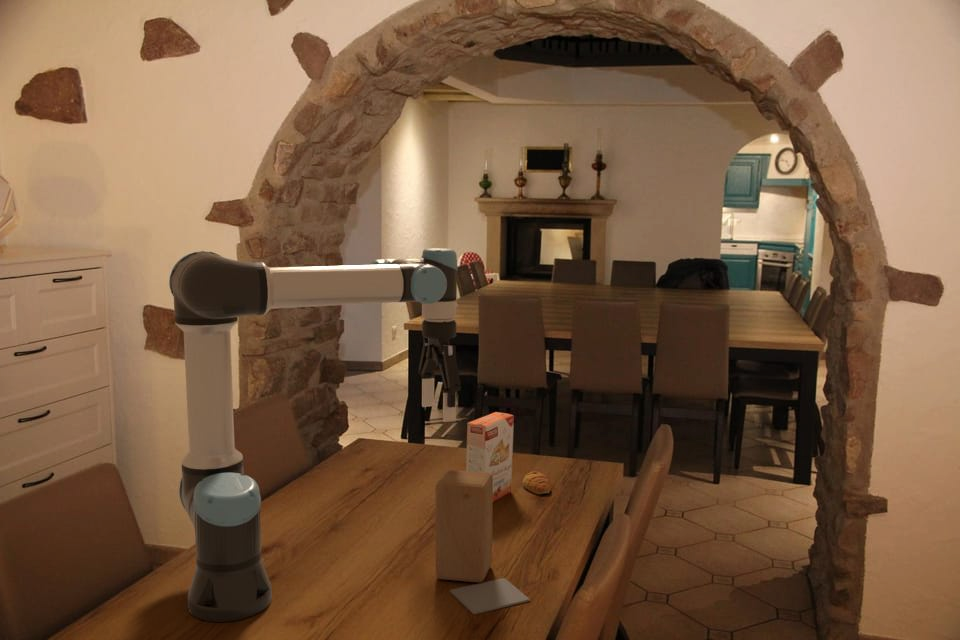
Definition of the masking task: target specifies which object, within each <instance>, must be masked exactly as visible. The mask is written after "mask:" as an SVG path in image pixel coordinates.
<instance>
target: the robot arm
mask: <svg viewBox="0 0 960 640" xmlns="http://www.w3.org/2000/svg"><path fill="white" fill-rule="evenodd" d="M458 270H459V269H458V257H457V252H456V251H455V250H454V249H452V248H445V247H443V248H442V247H441V248H439V247H438V248H437V247H436V248H435V247H433V248H432V247H431V248H424V249H423V250H422V254H421V257H419V258H387V257H386V258H382V259H375V260H374V259H373V260H372V261H371V263H370V264H362V265H361V264H360V265H359V264H358V265H328V266H327V265H321V266H319V265H317V266H316V265H314V266H280V267H278V266H274V267H269V266H268V265H267V264H266V263H264V262H263V261H257V262H256V261H253V262H251V261H250V262H249V261H241V260H236V259H230V258H228V257H224V256H222V255H220V254H218V253H216V252H212V251H205V250H204V251H203V250H201V251H195V252H190V253H188V254H186V255H185V256H182V257H181V258H180V259H179V260H178V261H177V262H176V263H175V264H174V266H173V267H172V269H171V272H170V275H169V285H168V286H169V290H170V293H171V295H172V296H173V310H174V311H173V312H174V313H173V314H174V315H173V316H174V325H175V326H177V327H178V329H180V330H181V331H182V332H183V343H184V344H183V346H184V349H183V350H184V368H185V388H186V389H185V393H186V411H187V412H186V414H187V431H188V433H187V434H188V452H187V453H186V454H185V455H184V456H183V458H182V459H181V461H180V462H181V478H180V482H179V488H178V492H179V493H178V494H179V499H180V502H181V505H182V507H183V509H184V510H185V511H186V513H187V516H188V517H189V520H190V522H191V523H192V526H193V529H194V535H195V536H194V538H195V539H194V540H195V558H196V559H195V562H196V566H195V570H194V574H193V576H192V580H191V583H190V587H189V589H188V590H189V591H188V593H187V609H188V608H189V610H190V612H191V613H192V614H193V615H194V616H196V617H198V618H197V619H199V618H200V619H199V620H202V619H203V621H206V622H223V623H224V622H233V621H238V620H243V619H246V618H249V617H253V616H255V615H257V614H259V613H261V612H263V611H264V610H265V609H266V608H267V607H269V606H270V604H271V602H272V600H273V599H272V596H273V592H272V591H273V590H272V584H271V581H270V579H269V577H268V574H267V573H268V572H267V571H266V568H265V566H264V563H263V561H262V536H261V535H262V534H261V533H262V531H261V505H262V498H261V494H260V488H259V485H258V483H257V482H256V480H255V479H253V478H252V477H250V476H249V475H246V474H245V475H244V456H243V454H242V452H241V451H239V450H237V448H236V447H235V446H236V445H235V426H234V425H235V424H234V397H233V393H234V392H233V369H232V368H233V366H232V341H231V339H232V338H231V330H232V329H233V327H234V326H235V325H236V324H237V323H238V322H239V317H240V318H241V317H249V316H262V315H263V316H264V315H266V314H268V312H269V311H271V309H273V310H275V309H291V308H310V307H327V306H347V305H348V306H349V305H364V304H365V305H366V304H367V305H368V304H369V305H370V304H386V303H387V304H388V303H415V302H416V303H417V302H418V303H420V304H421V317H422V319H423V320H422V322H421V334H422V338H423V342H422V349H421V355H420V360H419V365H418V374H420V376H421V377H420V378H421V407H422V408H426V407H435V378H436V373H435V370H436V368H437V366H438V367H439V370H440V375H441V376H440V377H441V379H442V383H443V387H444V388H443V389H442V391H441V392H442V395H443V397H442V405H443V406H442V422H444V423H448V422H449V423H450V422H456V421H457V392H459V391H460V392H461V390H462V386H461V379H460V374H459V373H460V372H459V366H458V360H457V349H456V348H457V347H456V345H453V344H452V345H450V339H453V338H455V337H457V321H456V318H457V308H458V307H459V304H458V303H457V300H458V299H457V297H458V296H457V293H458V292H457V287H458V286H457V285H458V284H457V283H458ZM189 610H188V611H189ZM190 612H189V613H190ZM191 613H190V614H191ZM192 614H191V615H192ZM193 615H192V616H193ZM194 616H193V617H194ZM196 617H195V618H196Z"/></svg>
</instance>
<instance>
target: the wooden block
mask: <svg viewBox="0 0 960 640" xmlns="http://www.w3.org/2000/svg"><path fill="white" fill-rule="evenodd" d="M493 503H494V502H493V477H492V475H491V474H490V473H486V472H471V471H466V470H455V469H449V470H447V471H445V473H444V474H443V475H442V476H441V477H440V479H439V480H438V481H437V482H436V484H435V541H434V542H435V546H434V547H435V549H434V550H435V557H434V558H435V564H434V565H435V569H434V571H435V576H436V578H437V579H439V580H450V581H459V582H471V583H483V582H484V580H485V578H486V576H487V574H488V572H489V570H490V568H491V566H492V563H493Z"/></svg>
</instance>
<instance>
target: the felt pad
mask: <svg viewBox="0 0 960 640" xmlns="http://www.w3.org/2000/svg"><path fill="white" fill-rule="evenodd" d="M449 592H450V593H451V594H452V595H453V596H454V597H455V598H456V599H457V600H458V602H459V603H461V604H462V605H463V606H464V607H465V608H466V609H467V610H469V612H470V613H471V614H472V615H477V614H481V613H482V614H483V613H487V612H489V611H494V610H500V609H502V608H506V607H511V606H515V605H518V604H520V605H521V604H523V603H528V602H530V601H531V599H530V598H529V597H528V596H527V595H525V594H524V593H523V592H522V591H521V590H520V589H518V587H516V586H515V585H514V584H512V583H511V582H510V581H509V580H508V579H506V578H505V577H503V578H497V579H492V580H488V581H483V582H478V583H476V584H475V583H474V584H470V585H466V586H461V587H457V588H454V589H453V588H452V589H450V591H449Z"/></svg>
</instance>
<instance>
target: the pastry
mask: <svg viewBox="0 0 960 640" xmlns="http://www.w3.org/2000/svg"><path fill="white" fill-rule="evenodd" d="M522 484H523V485H522V486H523V487H524V488H525V490H527V489H528V490H527V491H529V492H531V493H533V494H537V495H542V494H549V493H550V491H552V489H551V487H552V484H551V482H550V479H549V478H548V476H547V475H545V474H544V473H541V472H540V471H534V470H533V471H530V472H529V473H528V472H527V473H526V474H525V475H524V476H523V479H522Z"/></svg>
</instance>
